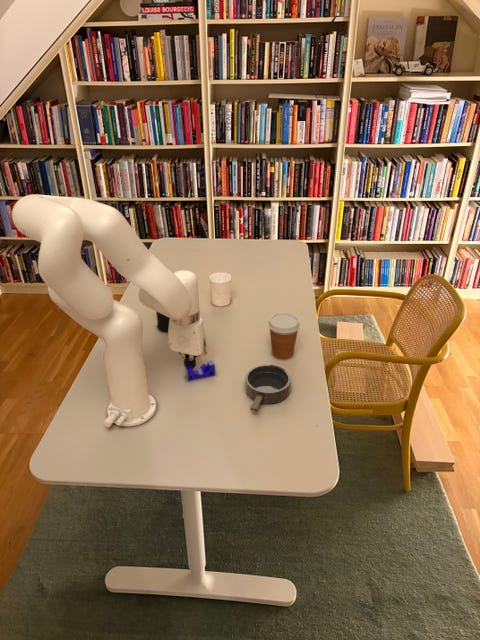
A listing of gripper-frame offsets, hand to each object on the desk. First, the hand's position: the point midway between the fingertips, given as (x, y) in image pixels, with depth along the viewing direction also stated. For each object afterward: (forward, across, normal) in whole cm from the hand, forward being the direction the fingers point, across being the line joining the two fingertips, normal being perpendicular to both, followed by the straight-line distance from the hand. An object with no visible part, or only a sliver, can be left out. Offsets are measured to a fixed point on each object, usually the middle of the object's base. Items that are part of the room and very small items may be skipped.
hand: (190, 368), depth 140 cm
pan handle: (-1, +24, -9) cm, 25 cm away
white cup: (+1, -7, +41) cm, 41 cm away
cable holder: (+1, +3, 0) cm, 4 cm away
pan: (+1, +24, -1) cm, 24 cm away
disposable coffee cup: (+1, +23, +18) cm, 29 cm away
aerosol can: (+1, -17, +20) cm, 26 cm away
